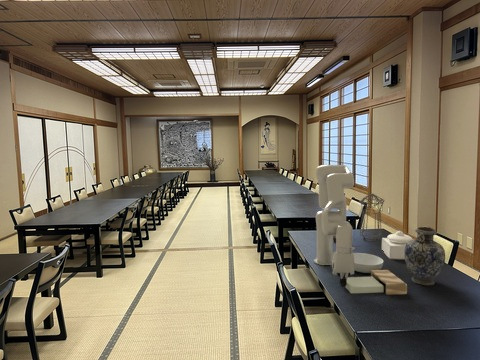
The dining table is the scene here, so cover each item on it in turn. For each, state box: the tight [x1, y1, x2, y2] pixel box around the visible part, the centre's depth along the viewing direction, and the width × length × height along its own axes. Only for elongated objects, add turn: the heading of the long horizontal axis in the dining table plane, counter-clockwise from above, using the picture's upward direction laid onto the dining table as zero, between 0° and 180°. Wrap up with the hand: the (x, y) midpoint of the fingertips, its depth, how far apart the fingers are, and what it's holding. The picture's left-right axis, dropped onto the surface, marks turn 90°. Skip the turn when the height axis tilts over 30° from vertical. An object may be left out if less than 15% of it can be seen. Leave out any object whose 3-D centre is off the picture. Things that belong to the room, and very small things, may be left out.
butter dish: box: [381, 230, 413, 260], centre depth 219 cm, size 18×18×16 cm
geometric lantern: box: [358, 193, 385, 242], centre depth 252 cm, size 16×16×35 cm
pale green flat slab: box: [345, 276, 385, 294], centre depth 170 cm, size 12×16×3 cm
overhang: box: [370, 269, 408, 296], centre depth 171 cm, size 17×10×5 cm, turn 3°
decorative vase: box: [404, 226, 446, 287], centre depth 176 cm, size 21×19×28 cm
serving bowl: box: [353, 252, 384, 274], centre depth 193 cm, size 21×21×7 cm
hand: (343, 285), depth 170 cm, fingers closed
